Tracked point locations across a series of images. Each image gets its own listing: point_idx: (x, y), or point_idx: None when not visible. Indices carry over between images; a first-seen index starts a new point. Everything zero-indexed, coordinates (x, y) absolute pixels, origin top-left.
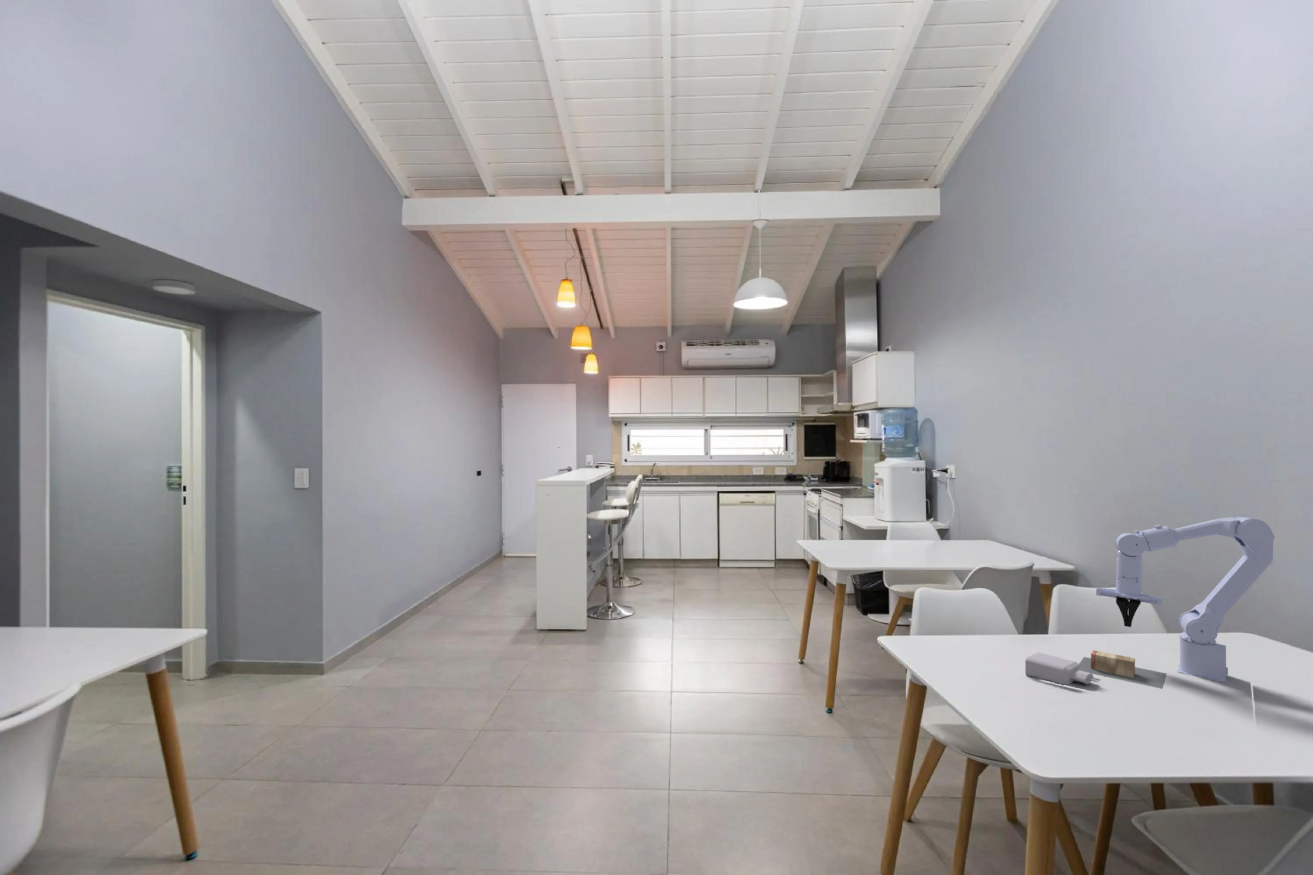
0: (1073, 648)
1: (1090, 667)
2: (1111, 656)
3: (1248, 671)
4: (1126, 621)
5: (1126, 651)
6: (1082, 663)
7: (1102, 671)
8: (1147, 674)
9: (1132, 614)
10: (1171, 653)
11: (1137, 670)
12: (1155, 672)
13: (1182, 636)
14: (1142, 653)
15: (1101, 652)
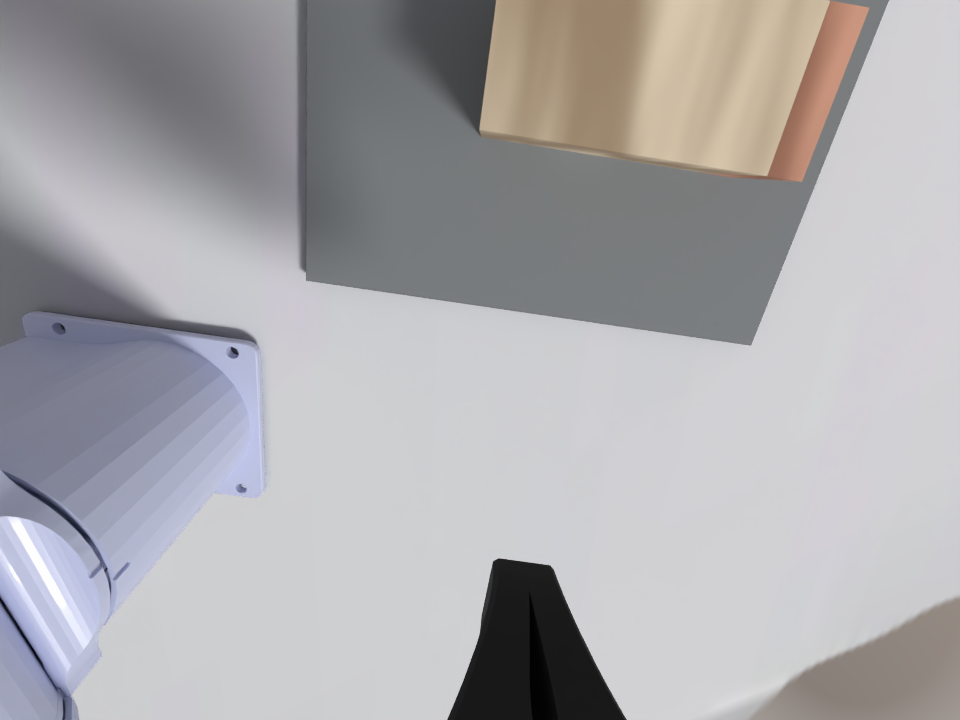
0: (756, 512)
1: None
2: (681, 34)
3: None
4: (541, 607)
5: None
6: None
7: None
8: (407, 171)
9: (472, 715)
10: (312, 666)
11: (462, 230)
12: (363, 258)
13: (70, 573)
14: (425, 606)
15: (744, 143)
